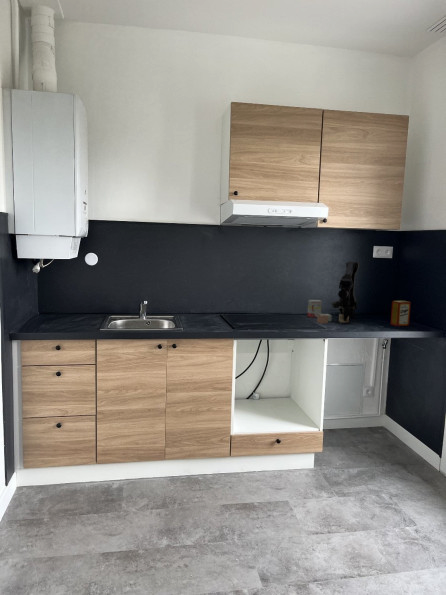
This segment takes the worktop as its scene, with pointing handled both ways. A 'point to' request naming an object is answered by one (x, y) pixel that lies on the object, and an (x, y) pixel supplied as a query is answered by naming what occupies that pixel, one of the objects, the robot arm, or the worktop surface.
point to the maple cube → (341, 318)
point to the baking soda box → (400, 313)
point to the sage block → (328, 316)
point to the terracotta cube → (322, 318)
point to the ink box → (314, 308)
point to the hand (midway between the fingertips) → (343, 320)
